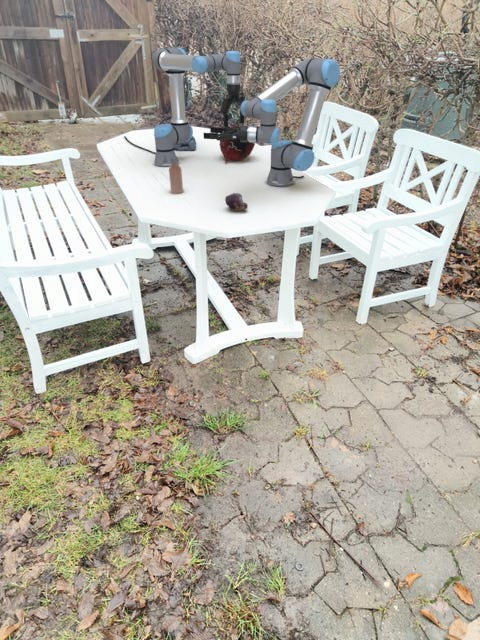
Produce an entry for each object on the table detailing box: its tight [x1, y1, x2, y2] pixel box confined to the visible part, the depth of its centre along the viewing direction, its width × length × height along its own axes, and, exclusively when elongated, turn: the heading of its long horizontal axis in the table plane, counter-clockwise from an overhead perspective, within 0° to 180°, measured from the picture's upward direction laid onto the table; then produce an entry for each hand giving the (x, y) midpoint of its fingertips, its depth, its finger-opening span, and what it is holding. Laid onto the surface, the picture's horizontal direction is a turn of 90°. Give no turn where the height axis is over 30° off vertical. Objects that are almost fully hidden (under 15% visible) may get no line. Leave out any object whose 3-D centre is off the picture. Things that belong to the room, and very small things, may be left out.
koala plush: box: [174, 135, 197, 151], centre depth 321 cm, size 17×18×20 cm
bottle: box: [168, 162, 184, 195], centre depth 243 cm, size 7×7×18 cm
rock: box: [224, 192, 249, 212], centre depth 223 cm, size 12×9×10 cm
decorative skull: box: [219, 125, 256, 164], centre depth 298 cm, size 21×24×25 cm
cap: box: [170, 156, 179, 163], centre depth 239 cm, size 4×4×2 cm
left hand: (234, 125), depth 259 cm, fingers open, 13 cm apart
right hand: (207, 132), depth 228 cm, fingers open, 13 cm apart
